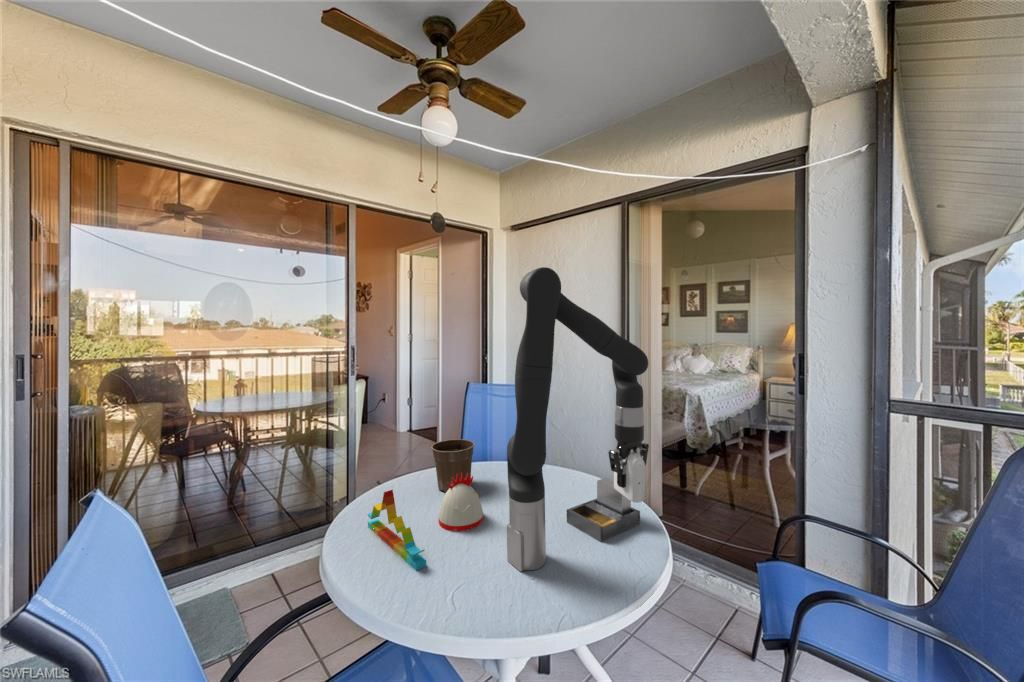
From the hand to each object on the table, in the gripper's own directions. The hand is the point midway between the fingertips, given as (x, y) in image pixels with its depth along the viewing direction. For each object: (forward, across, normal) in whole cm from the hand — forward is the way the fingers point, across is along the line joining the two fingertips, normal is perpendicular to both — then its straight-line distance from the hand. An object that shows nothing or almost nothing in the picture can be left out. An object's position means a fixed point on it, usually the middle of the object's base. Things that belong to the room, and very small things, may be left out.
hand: (628, 484), depth 111 cm
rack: (+18, +4, +13) cm, 22 cm away
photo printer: (+3, 0, 0) cm, 3 cm away
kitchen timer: (+19, -30, +41) cm, 54 cm away
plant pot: (+19, -20, +66) cm, 72 cm away
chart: (+19, -51, +40) cm, 68 cm away
